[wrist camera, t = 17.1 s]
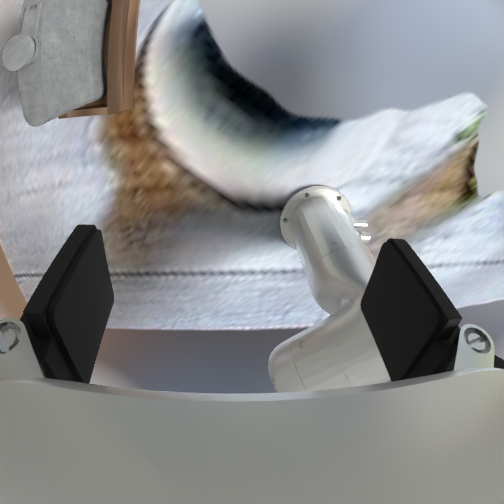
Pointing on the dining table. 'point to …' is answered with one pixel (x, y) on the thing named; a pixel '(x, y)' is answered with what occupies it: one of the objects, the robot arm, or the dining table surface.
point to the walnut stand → (116, 61)
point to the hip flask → (58, 56)
